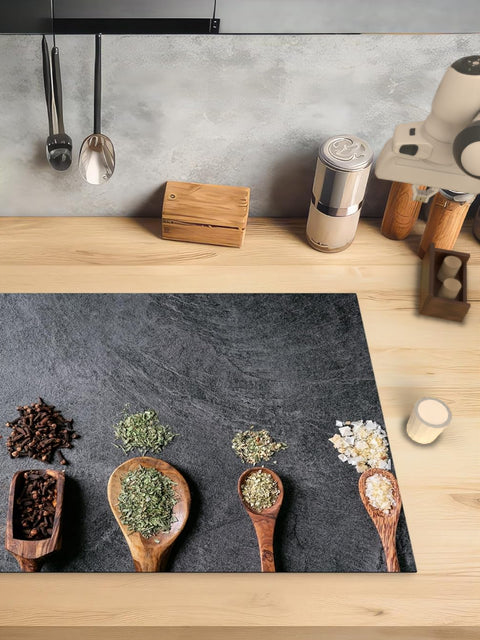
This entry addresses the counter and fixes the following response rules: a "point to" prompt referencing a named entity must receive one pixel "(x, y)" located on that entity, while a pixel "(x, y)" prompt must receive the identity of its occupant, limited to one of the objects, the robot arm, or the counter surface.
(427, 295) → the spice rack
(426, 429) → the shot glass
